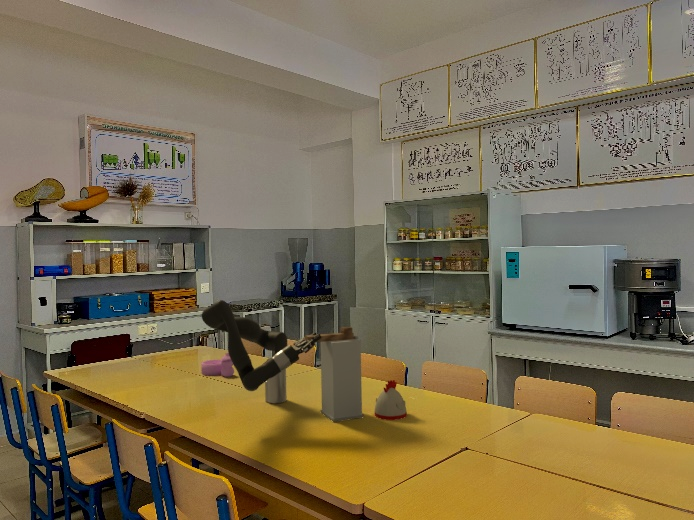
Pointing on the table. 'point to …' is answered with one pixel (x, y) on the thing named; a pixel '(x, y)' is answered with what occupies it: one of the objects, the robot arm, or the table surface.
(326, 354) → the pedestal
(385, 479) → the table surface
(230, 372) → the pink rounded piece
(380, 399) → the white chicken figure
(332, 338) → the brown wooden bar
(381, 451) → the table surface
